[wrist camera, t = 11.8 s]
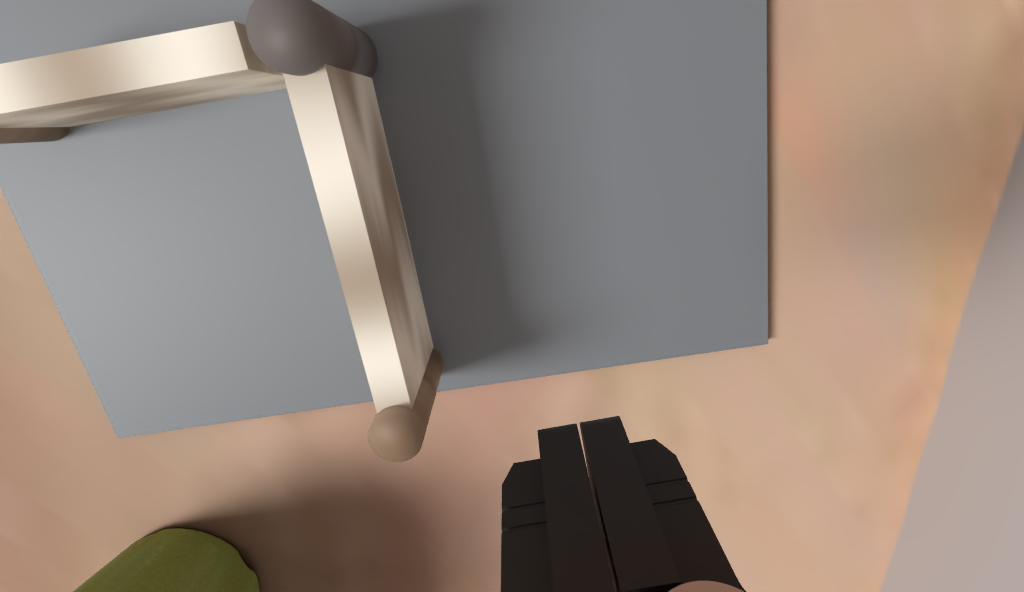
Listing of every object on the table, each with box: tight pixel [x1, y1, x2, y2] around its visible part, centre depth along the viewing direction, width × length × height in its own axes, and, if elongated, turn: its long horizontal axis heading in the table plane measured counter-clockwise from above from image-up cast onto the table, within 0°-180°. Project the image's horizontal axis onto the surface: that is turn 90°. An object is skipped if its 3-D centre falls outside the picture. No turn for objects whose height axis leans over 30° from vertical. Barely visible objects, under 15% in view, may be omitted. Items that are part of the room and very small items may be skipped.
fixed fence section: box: [0, 21, 287, 144], centre depth 17 cm, size 12×2×6 cm, turn 99°
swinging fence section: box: [246, 0, 443, 462], centre depth 18 cm, size 14×2×6 cm, turn 9°
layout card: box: [0, 0, 768, 438], centre depth 20 cm, size 22×30×1 cm
